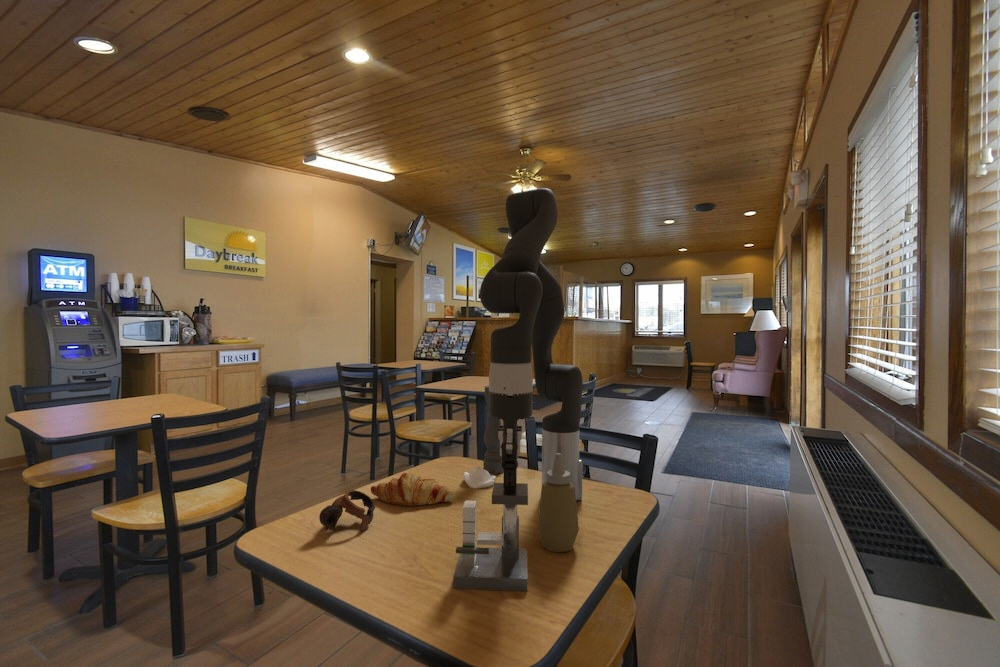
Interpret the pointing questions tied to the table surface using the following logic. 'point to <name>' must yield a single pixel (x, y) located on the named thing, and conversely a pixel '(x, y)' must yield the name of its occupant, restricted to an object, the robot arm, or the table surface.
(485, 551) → the peak pointer
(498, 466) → the candle holder
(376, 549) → the table surface
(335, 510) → the brown headphones
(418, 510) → the table surface
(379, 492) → the croissant
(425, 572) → the table surface
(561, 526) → the squeeze bottle
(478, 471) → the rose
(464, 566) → the frame
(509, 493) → the dark grey blocky piece
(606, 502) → the table surface
